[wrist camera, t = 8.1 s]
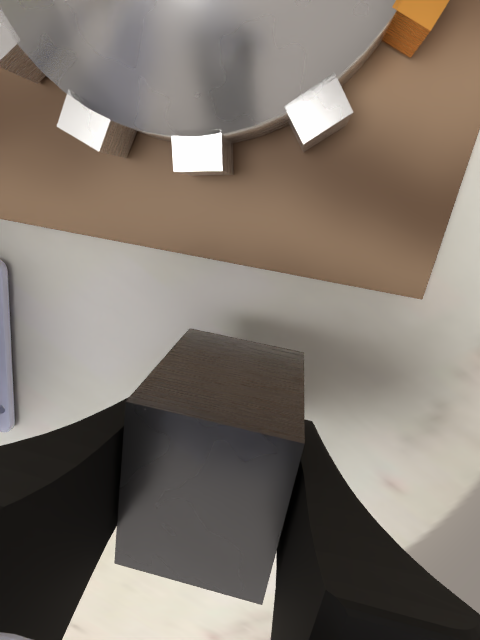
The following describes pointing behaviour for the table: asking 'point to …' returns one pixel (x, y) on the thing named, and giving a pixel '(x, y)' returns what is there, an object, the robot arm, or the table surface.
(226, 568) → the link block
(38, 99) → the base board
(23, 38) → the wheel
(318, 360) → the table surface
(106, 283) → the table surface
